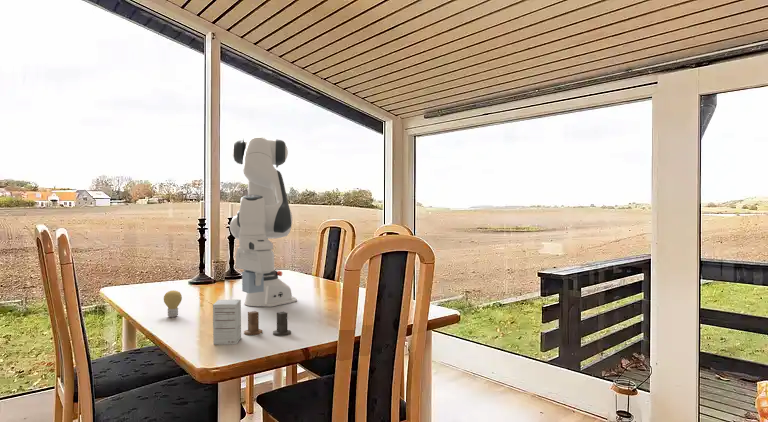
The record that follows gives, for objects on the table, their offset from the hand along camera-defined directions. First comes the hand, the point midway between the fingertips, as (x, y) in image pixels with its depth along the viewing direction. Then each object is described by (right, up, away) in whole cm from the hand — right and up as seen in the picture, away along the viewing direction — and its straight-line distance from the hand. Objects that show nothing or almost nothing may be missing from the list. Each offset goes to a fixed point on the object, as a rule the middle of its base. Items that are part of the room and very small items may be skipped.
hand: (253, 284), depth 165 cm
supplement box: (-6, -17, -9) cm, 20 cm away
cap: (0, -2, 0) cm, 2 cm away
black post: (+10, -17, 0) cm, 19 cm away
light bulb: (-37, -16, +24) cm, 47 cm away
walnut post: (0, -17, 0) cm, 17 cm away
